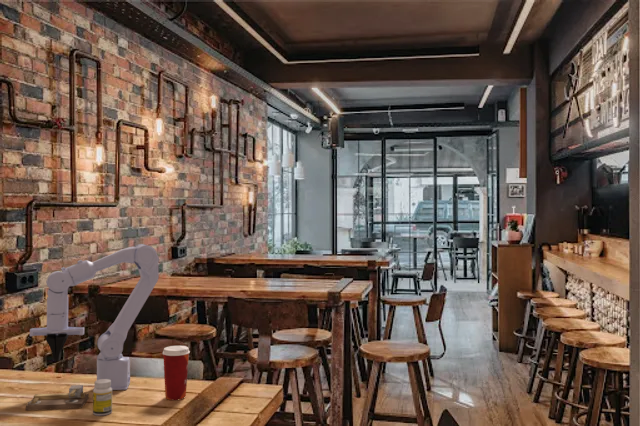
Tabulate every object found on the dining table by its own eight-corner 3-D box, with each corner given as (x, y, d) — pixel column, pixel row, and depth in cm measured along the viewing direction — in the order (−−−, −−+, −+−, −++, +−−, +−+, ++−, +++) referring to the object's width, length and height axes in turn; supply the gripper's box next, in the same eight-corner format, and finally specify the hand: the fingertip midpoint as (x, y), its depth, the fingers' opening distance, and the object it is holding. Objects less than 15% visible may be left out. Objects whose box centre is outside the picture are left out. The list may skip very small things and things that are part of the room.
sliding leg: (82, 394, 172) (83, 384, 172) (77, 401, 165) (77, 392, 165) (71, 394, 171) (71, 385, 171) (65, 402, 164) (65, 392, 164)
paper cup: (194, 397, 175) (195, 348, 175) (171, 403, 170) (172, 352, 170) (179, 391, 180) (179, 343, 181) (156, 397, 175) (156, 347, 175)
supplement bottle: (95, 410, 163) (96, 378, 163) (114, 410, 163) (114, 378, 163) (90, 416, 158) (91, 383, 158) (109, 416, 158) (109, 383, 158)
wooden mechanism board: (88, 398, 173) (88, 390, 173) (81, 407, 164) (82, 399, 164) (35, 400, 171) (35, 392, 171) (25, 410, 162) (25, 401, 162)
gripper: (26, 315, 173) (26, 364, 173) (81, 314, 175) (80, 362, 175) (33, 311, 180) (33, 358, 180) (86, 311, 182) (85, 357, 182)
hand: (57, 360), depth 178 cm, fingers closed
